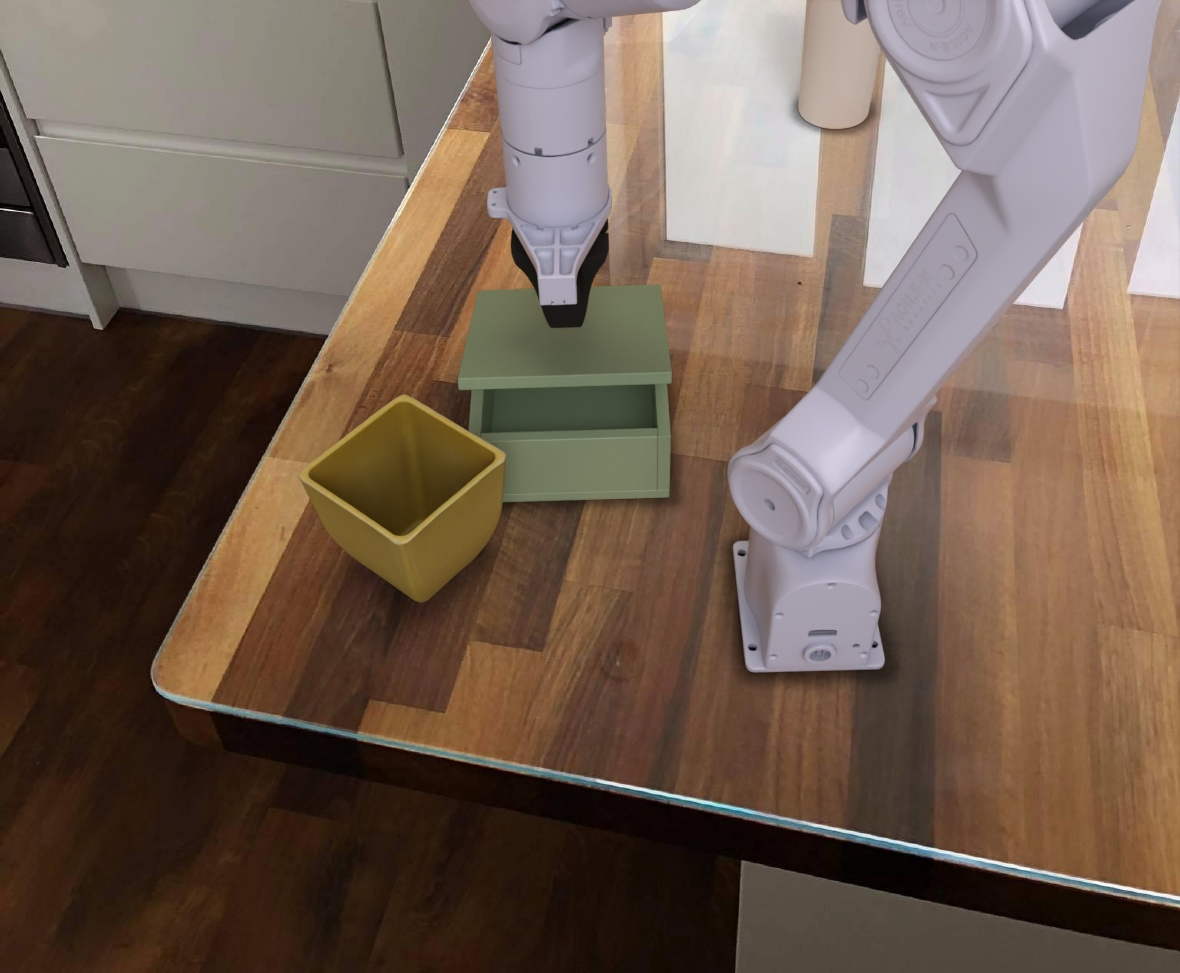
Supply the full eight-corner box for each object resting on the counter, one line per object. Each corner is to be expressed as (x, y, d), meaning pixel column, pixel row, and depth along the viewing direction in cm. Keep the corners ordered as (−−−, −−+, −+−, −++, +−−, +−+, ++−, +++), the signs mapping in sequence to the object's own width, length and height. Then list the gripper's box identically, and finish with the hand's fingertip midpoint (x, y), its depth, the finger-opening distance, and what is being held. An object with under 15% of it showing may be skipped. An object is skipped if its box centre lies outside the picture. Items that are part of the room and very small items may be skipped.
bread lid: (672, 384, 72) (672, 371, 71) (458, 390, 72) (457, 378, 72) (660, 294, 84) (660, 283, 84) (478, 300, 85) (477, 289, 84)
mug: (857, 138, 106) (876, 6, 98) (784, 121, 109) (796, -9, 100) (892, 82, 112) (913, -47, 103) (822, 67, 114) (837, -61, 106)
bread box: (669, 497, 80) (670, 436, 75) (476, 503, 80) (467, 442, 76) (660, 356, 89) (660, 294, 84) (487, 362, 89) (478, 300, 85)
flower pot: (423, 487, 81) (402, 389, 74) (521, 550, 77) (509, 452, 71) (324, 570, 77) (293, 474, 70) (424, 641, 73) (401, 546, 66)
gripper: (486, 60, 71) (506, 250, 81) (471, 210, 61) (496, 404, 71) (607, 56, 71) (612, 246, 81) (612, 205, 61) (617, 400, 71)
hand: (565, 320), depth 76 cm, fingers closed
